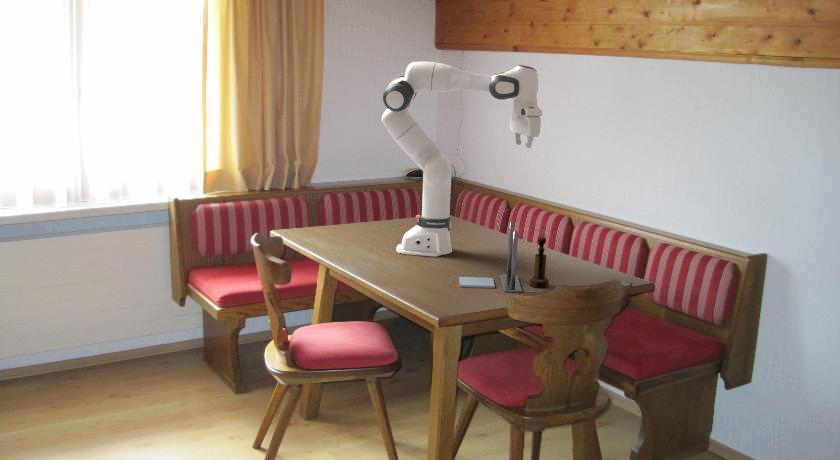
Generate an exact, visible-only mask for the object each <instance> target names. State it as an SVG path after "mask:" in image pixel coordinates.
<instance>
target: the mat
mask: <svg viewBox="0 0 840 460" xmlns="http://www.w3.org/2000/svg"><path fill="white" fill-rule="evenodd" d="M458 280H459V288H477V289H478V288H483V289H495V286H496V285H495V281H494V278H493V277H478V276H477V277H475V276H459V278H458Z"/></svg>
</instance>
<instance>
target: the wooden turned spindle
mask: <svg viewBox="0 0 840 460" xmlns="http://www.w3.org/2000/svg"><path fill="white" fill-rule="evenodd" d="M546 242H547V237H546V236H544V235H539V236H538V237H537V243H538V244H539V247H538V248H537V251H538V253H536V254H535V255H534V275H533V276H532V277H530V280H529V285H530V287H532V288H535V289H546V288H548V287H549V283H550V280H549V278H548V277H547V276H546V274H547V273H546V269H547V255H546V254H545V251H546V249H545V245H546Z"/></svg>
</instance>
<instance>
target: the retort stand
mask: <svg viewBox="0 0 840 460" xmlns="http://www.w3.org/2000/svg"><path fill="white" fill-rule="evenodd" d="M518 241H519V231H517V230H515V221H509V231H508V245H507V246H508V249H507V265H506V266H507V267H506V268H507V269H506V274H500V275H499V277H500V278H499V279H500V281H501V285H502V289H503V292H504V293H507V292H508V293H511V294H513V293H512V292H522V293H523V289H522V287H521V283H520V280H519V277H518V275H517V262H518V261H517V259H518ZM508 293H507V294H508Z"/></svg>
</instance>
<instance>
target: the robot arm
mask: <svg viewBox="0 0 840 460" xmlns="http://www.w3.org/2000/svg"><path fill="white" fill-rule="evenodd" d="M537 71H538V70H537V69H536V68H534V67H532V66H530V65H523V64H519V65H516V67H514V68H512V69H510V70H507V71H503V72H500V73H495V74H485V73H484V74H483V73H476V72H469V71H466V70H462V69H460V68H457V67H455V66H454V65H453V66H452V65H449V64H446V63H442V62H434V61H412V62H410V63H409V64H408V65H407V66H406V69H405V73H404V75H402V76H398V77H395V78H394V79H393V80H392V81H390V83H388V85H387V86H386V87H385V90H384V91H383V94H382V102H383V105H384V106H385V107H386V109H385V111H384V112H383V113H382V115H381V122H382V124H383V126H384V128H385V129H386V131H387V133H388V134H389V135H390V136H391V138H392V139H393V140H394V141H395V143H396V144H397V145H398V146H399V147H400V148H401V149H402V151H404V153H405V154H406V155H407V156H408V157H409V158H410V159H411V160H412V161H413V162H414V163H415V164H416V166H418V167H419V169H420V170H421V171H422V196H421V197H422V198H421V199H422V201H421V207H422V208H421V215H420V214H417V215H415V220H416V224H415V226H413V227H412V228H410V229H409V230H407V231H406V232H405V233H404V234H403V237H402V240H401V243H398V244H397V246H396V247H395V250H396V251H395V252H396V253H398V254H400V253H401V255H402V254H403V255H412V256H423V257H424V256H425V257H439V256H442V255H443V256H444V255H448V254H451V253H452V252H453V249H452V244H451V243H452V242H451V238H450V237H451V236H450V231H451V225H452V224H451V221H452V220H451V216H450V212H451V211H450V209H451V193H452V191H451V190H452V173H453V171H452V164H451V160H450V159H449V157H448V156H447V155H446V153H444V151H442V149H440V147H439V146H438V145H437V144H436V142H434V140H432V138H430V136H429V135H428V134H427V133H426V132H425V131H424V130H423V128H422V127H421V125H420V124H419V123H418V122H417V121H416V120H415V119H414V117H413V116H412V115H411V114H410V112H409V107H410V106H411V104H412V103H413V101H414V100H415V98H416V96H417V92H420V91H427V92H432V93H439V94H440V93H442V94H443V93H452V92H456V91H460V90H473V91H474V90H475V91H483V92H488V93H490V95H491V96H492V97H493V98H494V99H496V100H500V101H505V100H508V99H513V103H512V104H513V105H512V106H513V108H512V112H511V113H510V119H509V131H510V132H512V133H513V135H514V139H515V141H514V143H515V145H516V146H520V145H521V146H522V139H521V135H522V136H526V139H527V141H526V142H525V148H526V149H532V144H533V141H534V138H537V137H539V136H540V133H541V125H542V124H541V122H542V121H541V120H542V118H541V117H542V116H543V111H542V109H541V108H540V107H539V105H538V99H537V94H538V92H539V91H538V90H539V74H538V72H537Z"/></svg>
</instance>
